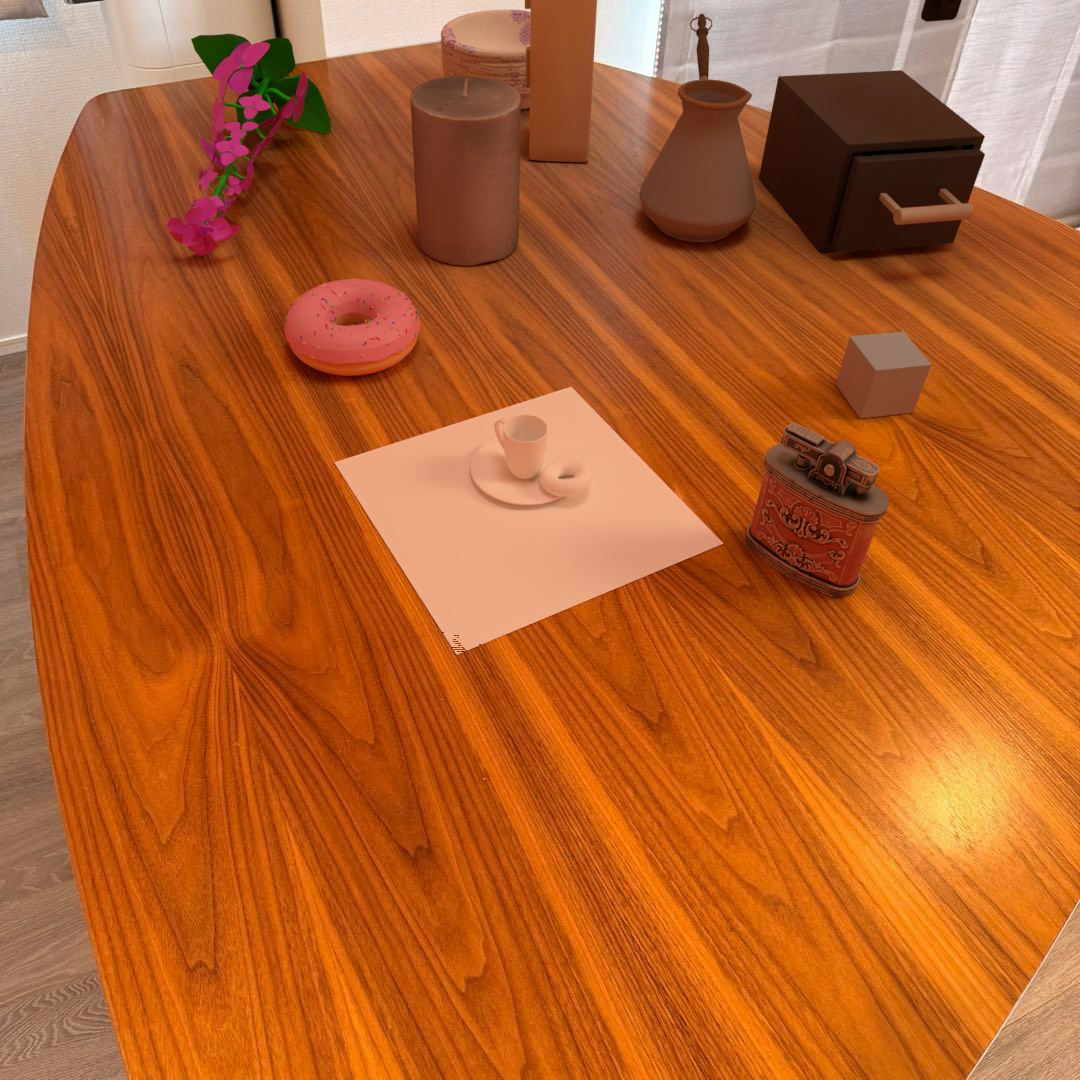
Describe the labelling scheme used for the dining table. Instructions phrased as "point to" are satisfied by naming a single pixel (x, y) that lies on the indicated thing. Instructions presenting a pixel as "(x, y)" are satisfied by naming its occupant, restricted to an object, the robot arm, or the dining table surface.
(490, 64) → the paper bowls
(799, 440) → the lighter
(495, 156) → the pillar candle
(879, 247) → the drawer
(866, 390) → the block
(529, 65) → the toy refrigerator
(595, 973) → the dining table surface
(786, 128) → the dark brown boxy casing
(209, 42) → the pink flower sprig
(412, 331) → the doughnut
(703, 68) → the coffee pot
